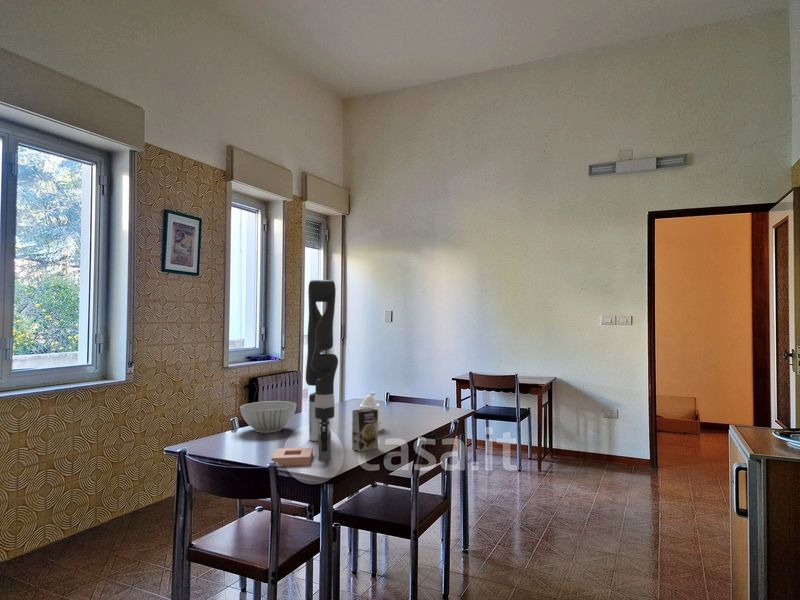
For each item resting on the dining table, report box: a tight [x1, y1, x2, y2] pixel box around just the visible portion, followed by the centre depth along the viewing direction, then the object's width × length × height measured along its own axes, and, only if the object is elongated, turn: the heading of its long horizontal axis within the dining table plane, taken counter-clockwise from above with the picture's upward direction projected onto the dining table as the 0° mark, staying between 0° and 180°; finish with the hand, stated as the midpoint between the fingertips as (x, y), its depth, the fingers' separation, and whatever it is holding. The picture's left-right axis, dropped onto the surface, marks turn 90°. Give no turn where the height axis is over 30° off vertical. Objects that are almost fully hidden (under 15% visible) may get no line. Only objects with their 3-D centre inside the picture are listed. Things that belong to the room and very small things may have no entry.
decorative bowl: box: [239, 400, 297, 434], centre depth 251 cm, size 27×27×12 cm
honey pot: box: [359, 391, 383, 432], centre depth 252 cm, size 13×13×18 cm
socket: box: [270, 447, 314, 467], centre depth 197 cm, size 14×14×3 cm
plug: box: [317, 430, 332, 461], centre depth 200 cm, size 5×5×10 cm
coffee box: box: [351, 408, 379, 452], centre depth 213 cm, size 9×6×16 cm
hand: (324, 449), depth 200 cm, fingers closed on plug, 4 cm apart
